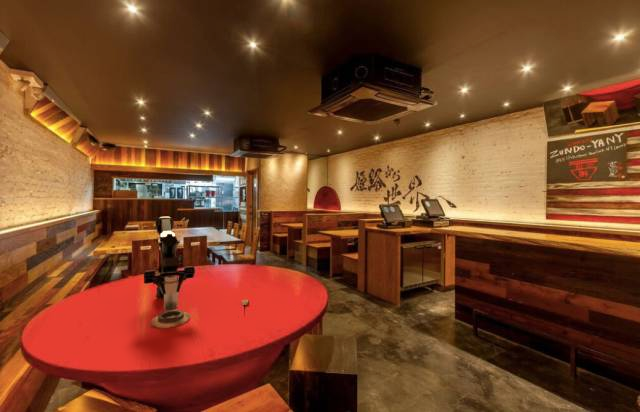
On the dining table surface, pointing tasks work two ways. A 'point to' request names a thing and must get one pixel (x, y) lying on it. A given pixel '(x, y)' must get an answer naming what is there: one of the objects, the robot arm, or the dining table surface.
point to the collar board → (160, 325)
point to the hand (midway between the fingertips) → (171, 293)
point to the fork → (245, 302)
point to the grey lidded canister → (170, 292)
